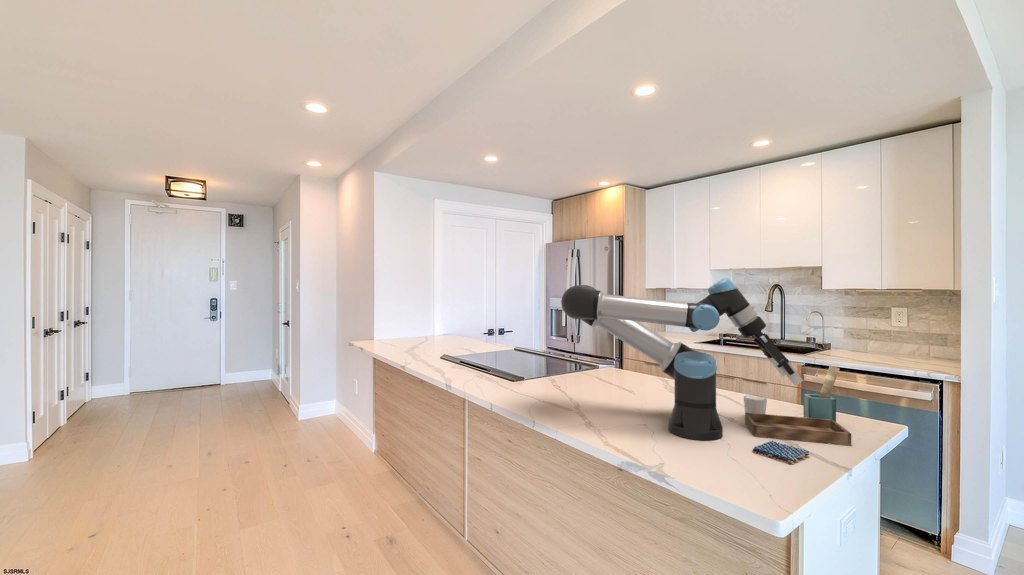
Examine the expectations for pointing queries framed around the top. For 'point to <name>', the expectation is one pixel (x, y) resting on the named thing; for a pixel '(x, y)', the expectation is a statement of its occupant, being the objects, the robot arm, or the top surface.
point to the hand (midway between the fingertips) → (792, 378)
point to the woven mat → (781, 452)
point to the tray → (797, 428)
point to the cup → (819, 407)
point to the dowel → (829, 382)
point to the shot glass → (755, 404)
